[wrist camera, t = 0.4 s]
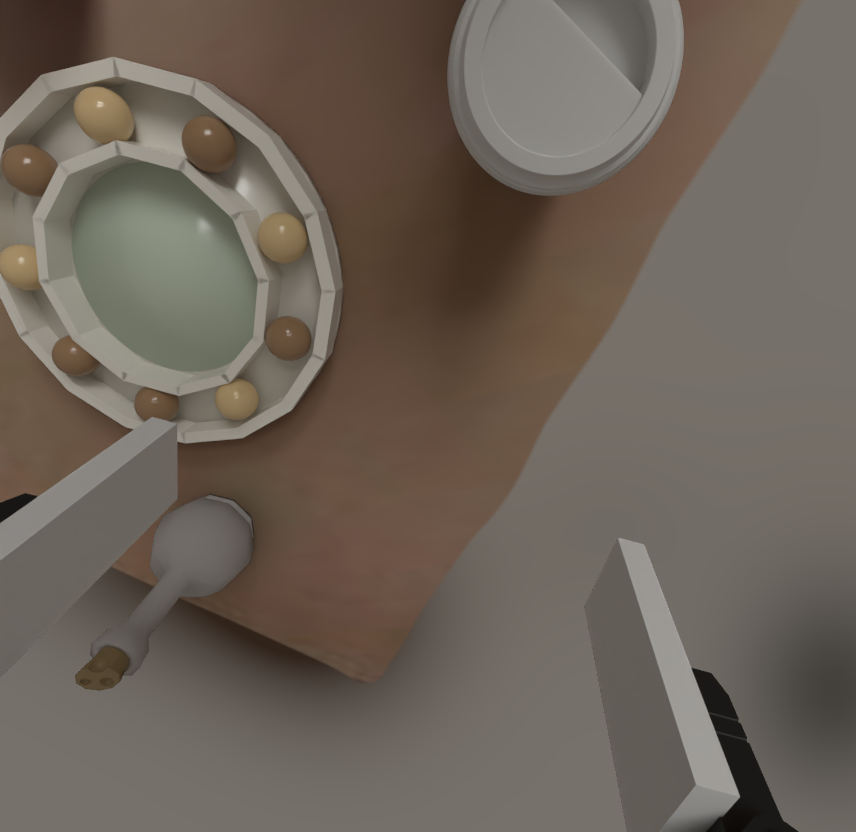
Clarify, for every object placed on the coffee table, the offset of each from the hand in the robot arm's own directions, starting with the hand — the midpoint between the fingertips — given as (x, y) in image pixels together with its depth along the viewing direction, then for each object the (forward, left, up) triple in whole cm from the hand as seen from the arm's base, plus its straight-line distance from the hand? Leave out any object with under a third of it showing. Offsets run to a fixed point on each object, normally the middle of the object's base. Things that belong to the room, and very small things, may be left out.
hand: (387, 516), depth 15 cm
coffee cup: (-14, +2, -27) cm, 30 cm away
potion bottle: (+27, -17, -27) cm, 42 cm away
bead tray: (+3, -22, -27) cm, 35 cm away
